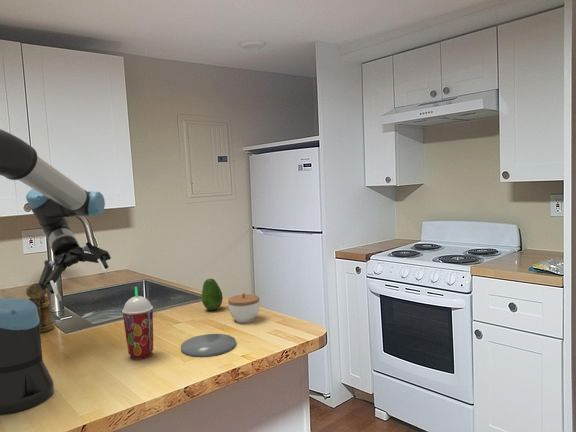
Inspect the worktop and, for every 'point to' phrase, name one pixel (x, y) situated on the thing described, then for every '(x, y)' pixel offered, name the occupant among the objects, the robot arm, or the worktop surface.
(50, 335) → the worktop surface
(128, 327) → the smoothie
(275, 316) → the worktop surface
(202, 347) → the slate plate
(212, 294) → the avocado
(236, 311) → the lidded jar
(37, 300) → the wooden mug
